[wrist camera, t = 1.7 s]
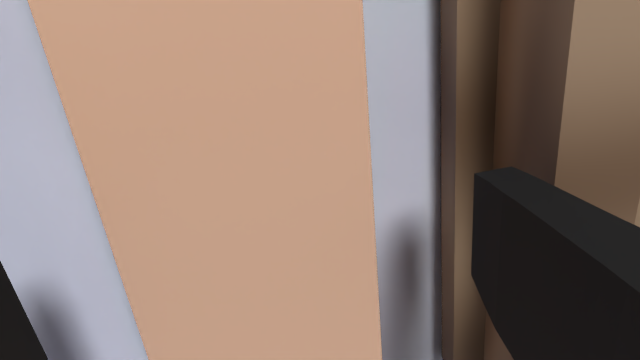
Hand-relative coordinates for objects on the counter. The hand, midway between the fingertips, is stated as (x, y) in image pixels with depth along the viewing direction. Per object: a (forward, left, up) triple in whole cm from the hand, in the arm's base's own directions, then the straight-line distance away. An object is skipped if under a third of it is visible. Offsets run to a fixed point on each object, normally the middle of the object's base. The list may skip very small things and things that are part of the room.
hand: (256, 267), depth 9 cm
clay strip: (0, 0, -3) cm, 3 cm away
